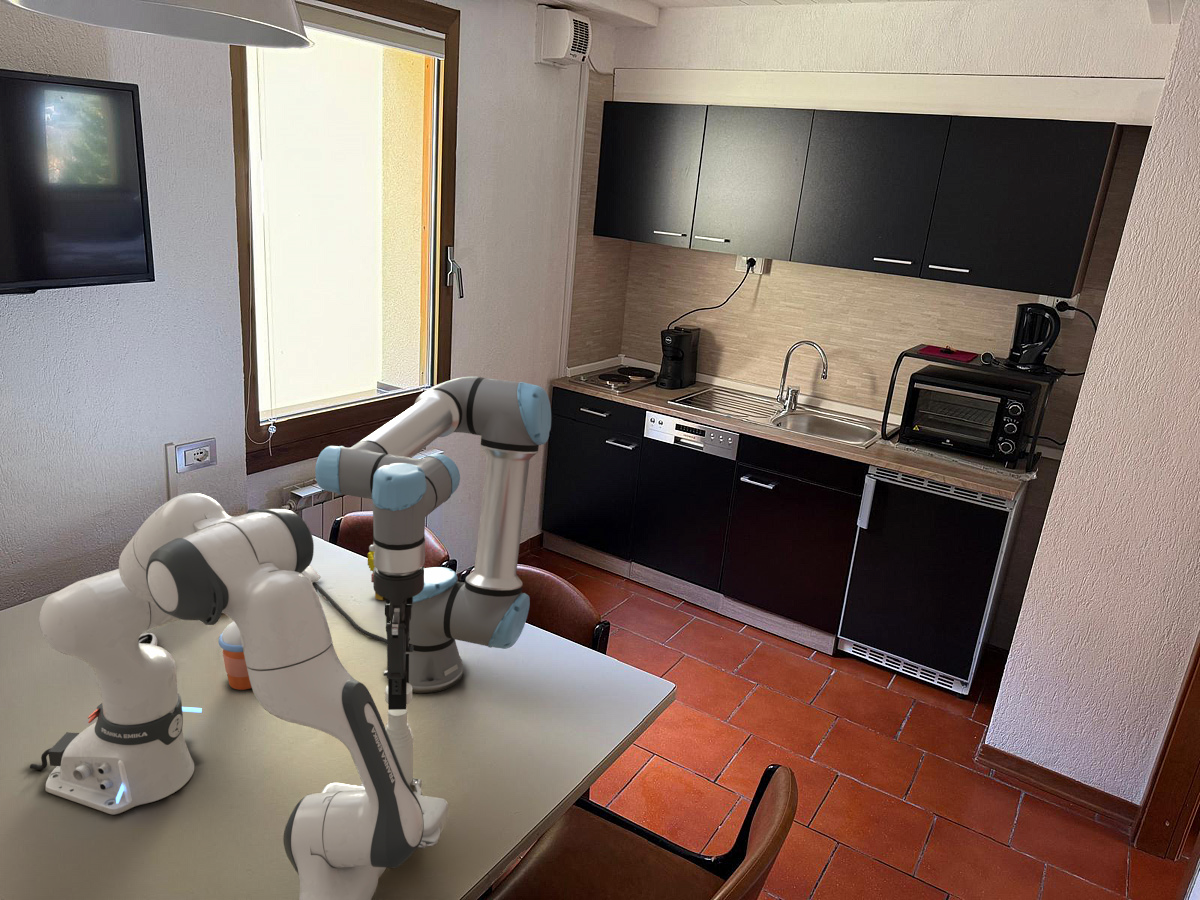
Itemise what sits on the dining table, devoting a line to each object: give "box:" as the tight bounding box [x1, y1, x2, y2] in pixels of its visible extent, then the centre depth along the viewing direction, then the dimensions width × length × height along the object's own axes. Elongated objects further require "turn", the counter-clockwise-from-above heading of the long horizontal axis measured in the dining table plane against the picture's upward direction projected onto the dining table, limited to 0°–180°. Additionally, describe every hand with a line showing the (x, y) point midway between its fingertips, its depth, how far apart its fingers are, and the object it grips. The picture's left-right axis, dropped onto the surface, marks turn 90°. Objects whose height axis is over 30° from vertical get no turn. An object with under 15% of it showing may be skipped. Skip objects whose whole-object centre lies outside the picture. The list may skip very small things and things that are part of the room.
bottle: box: [385, 707, 414, 786], centre depth 139 cm, size 5×5×20 cm
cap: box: [384, 683, 413, 705], centre depth 136 cm, size 4×4×2 cm
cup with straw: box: [218, 620, 252, 691], centre depth 172 cm, size 9×9×18 cm
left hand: (398, 779), depth 141 cm, fingers closed on bottle, 5 cm apart
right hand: (398, 698), depth 136 cm, fingers closed on cap, 4 cm apart
